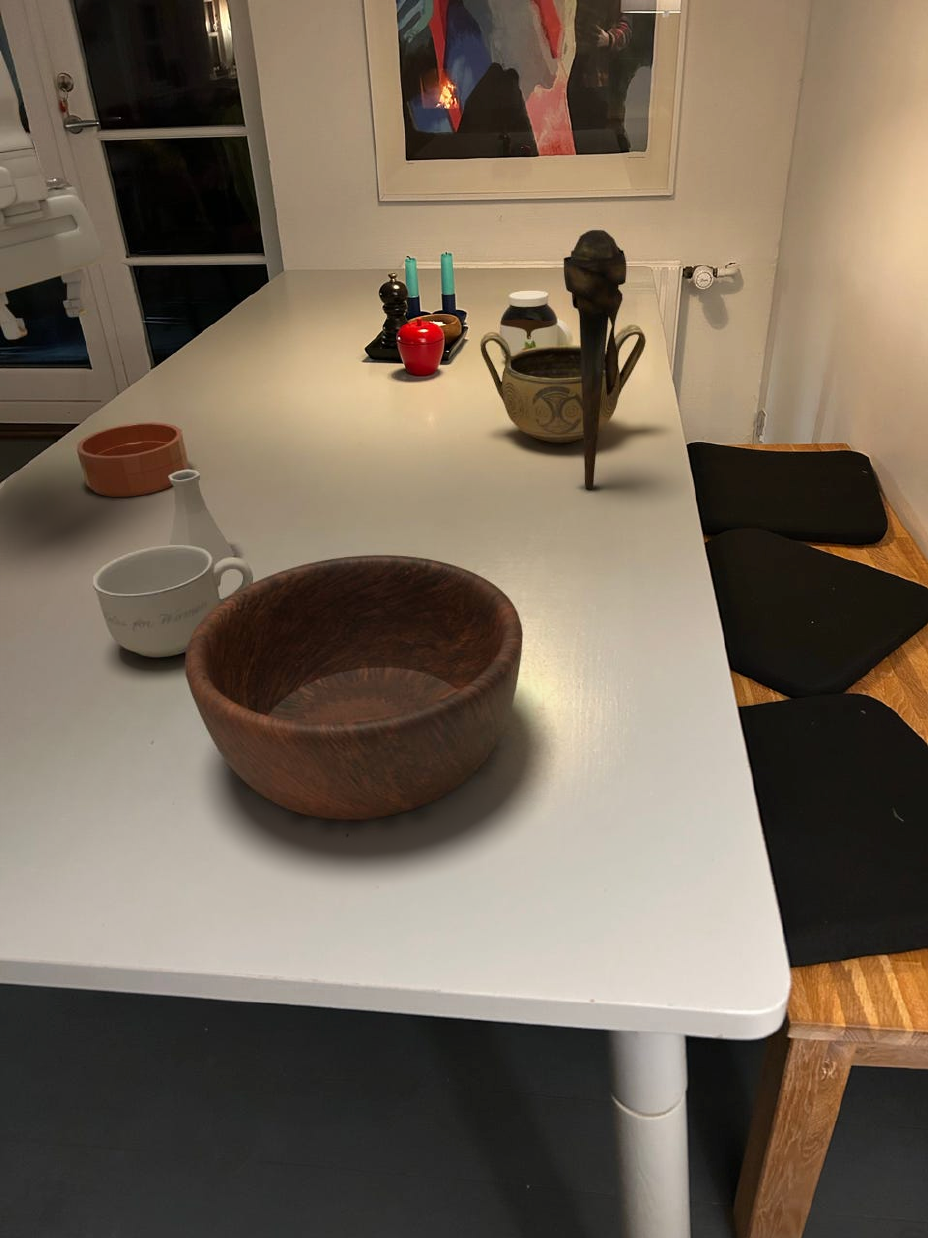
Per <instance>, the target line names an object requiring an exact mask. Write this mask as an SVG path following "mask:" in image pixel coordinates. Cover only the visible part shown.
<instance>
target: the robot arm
mask: <svg viewBox="0 0 928 1238" xmlns="http://www.w3.org/2000/svg"><path fill="white" fill-rule="evenodd" d="M19 107H20V106H19V98H18V95H17V92H16V89H15V86H14V83H13V79H12V77H11V74H10V71H9V69H8V67H7V64H6V61H5V59H4V56H3V54H2V51H1V50H0V327H1V330H2V333H3V336H4V338H5V339H7V340H18V339H20V338H23V337H25V336H27V335H28V329H27V328H26V327H25V322H24V319H23V318H22V317H21V318H19V317H17V318H16V317H15V316H14V314H13V313H12V312H11V311H10V310H9V308H8V307H7V306H6V305H8V304H9V300H8V297H7V294H6V293H7V292H10V291H14V290H17V289H20V288H23V287H27V286H31V285H33V284H37V283H40V282H45V281H47V280H50V279H54V278H57V277H60V278H61V281H62V283H63V284H66V300H63V301H62V303H63V304H62V305H63V307H64V308H65V312H66V315H67V317H69V318H78V317H82V316H84V315H87V314H88V311H89V309H88V307H87V304H86V301H85V295H86V294H85V293H86V283H87V279H86V275H85V272H84V269H86V268H87V269H88V268H91V267H93V266H97V265H100V264H101V263H102V262H103V256H104V249H103V246H102V243H101V242H100V238H99V236H98V233H97V231H96V228H95V225H94V223H93V221H92V219H91V217H90V214H89V212H88V210H87V208H86V207H85V204H84V203H83V202H82V200H81V199H80V196H79V193H78V191H77V189H76V187H74V186H73V185H72V184H71V183H70V182H68V181H66V179H64V178H63V177H52V178H51V179H45V176H44V173H43V171H42V167H41V164H40V162H39V158H38V155H37V152H36V149H35V146H34V144H33V142H32V140H31V138H30V137H29V135H28V134H27V132H26V130H25V128H24V126H23V124H22V120H21V115H20V108H19Z"/></svg>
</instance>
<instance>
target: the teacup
mask: <svg viewBox="0 0 928 1238" xmlns="http://www.w3.org/2000/svg"><path fill="white" fill-rule="evenodd" d="M228 570H236V571H238V572H240V574H241V575H242V580H241V581H242V582H241V584H240V585H239V586H238V587H237V589H236V590H234V591H233V592H232V593H231V594H229V595H227V596H225V597H224V598H220V593H219V592H220V591H219V587H220V586H221V582H222V576H223V574H224V573H226V571H228ZM252 583H254V573H253V571H252V568H251V567H250V565H249V563H247V562H246V561H245V560H244V559H242V558H239V557H235V556H233V557H229V558H225V559H223V560H221V561H219V562H218V563H217V564H216V565H213V558H212V556H211V555H210V554H209V553H208V552H207V551H206V550H204V549H202V548H199V547H194V546H188V545H186V546H185V545H170V544H168V545H158V546H153V547H148V548H143V549H139V550H137V551H134V552H129V553H127V554H123V555H122V556H119V557H117V558H115V559H113V560H111V561H109V562H108V563H106V564H105V565H102V567H100V568H99V570H97V572H96V573H95V574H94V575H93V577H92V587H93V589H94V591H95V592H96V595H97V598H98V602H99V606H100V609H101V612H102V615H103V618H104V621H105V625H106V627H107V629H108V631H109V633H110V636H111V637H112V638H113V640H114V641H115V642H116V643H117V644H118V645H119V646H121V647H122V648H124V649H125V650H128V651H130V652H135V653H137V654H139V655H141V656H144V657H149V658H167V657H172V656H177V655H181V654H184V653H186V651H187V647H188V643H189V641H190V639H191V637H192V634H193V633H194V631H195V630H196V628H197V627H198V625H199V624H200V623H201V622H202V620H203V619H204V618H205V617H206V616H207V615H208V614H209V613H210V612H211V611H212V610H213V609H214V608H216V607H217V606H218V605H219V604H220V603H222V602H223V601H224V600H226V599H227V598H229V597H230V596H231V595H233V594H235V593H236V592H238V591H240V590H241V589H243V588H245V587H247V586H249V585H250V584H252Z"/></svg>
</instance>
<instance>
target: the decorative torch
mask: <svg viewBox="0 0 928 1238" xmlns="http://www.w3.org/2000/svg"><path fill="white" fill-rule="evenodd" d="M563 277H564V284H565V288H566V291H567V292H568V293H571V301H572V306H573V308H574V309H576V310H577V312H578V315H579V316H578V318H579V319H578V320H579V344H580V345H579V346H580V349H581V378H582V407H583V436H584V438H583V460H584V462H583V463H584V486H585V489H592V488H594V483H595V471H596V470H595V468H596V467H595V466H596V460H597V459H596V458H597V447H598V446H597V445H598V435H599V430H598V426H599V416H600V405H601V394H602V383H603V372H604V361H605V375H606V390H607V395H609V394H610V393H611V392H612V390H613V388H614V386H615V382H616V377H617V371H618V366H619V355H617V349H616V343H615V337H616V336H615V327H616V320H617V316H618V313H619V310H620V308H621V305H622V303H623V293H622V292H621V290H620V289H619V286H621V285H624V284H625V283H626V281H627V259H626V256H625V252H624V250H623V249H620V247H619V246H618V244H617V242H616V240H615V239H614V237H612V235H610V233H608V232H607V231H605V230H604V229H591V230H588V231H586V232H584V233H583V234H582V235H579V238H578V240H577V242H576V244H575V246H574V248H573V249H572V250H571V251H570V256H566V257H564V258H563ZM609 321H610V325H611V327H610V330H609V335H608V327H609ZM605 351H606V359H605Z"/></svg>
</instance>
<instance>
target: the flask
mask: <svg viewBox="0 0 928 1238" xmlns="http://www.w3.org/2000/svg"><path fill="white" fill-rule="evenodd" d="M168 477H169V480H170V482H171V483H172V484H173V486H172V487H173V491H174V492H173V493H174V515H173V522H172V528H171V529H172V530H171V534H170V539H169V545H185V546H186V545H188V546H194V547H199V548H202V549H204V550H206V551H207V552H208V553H209V554H210V555H211V556H212V558H213V565H216V564H217V563H218V562H219V561H221V560H223V559H225V558H229V557H235V556H236V554H235V551H233V549H232V547H231V545H230V543H228V540H227V539H226V537H225V536H224V534H223V532H222V531H221V529H220V528H219V526H218V525H217V523H216V521H215V519H214V518H213V516H212V514H211V512H210V510H209V509H208V507H207V505H206V502H205V499H204V497H203V495H202V492H201V488H200V483H199V481H200V480H201V474H200V473H199V471H198V470H194V469H190V468H189V469H187V470H182V471H177V472H175V473H173V474H171V475H169V476H168Z"/></svg>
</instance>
